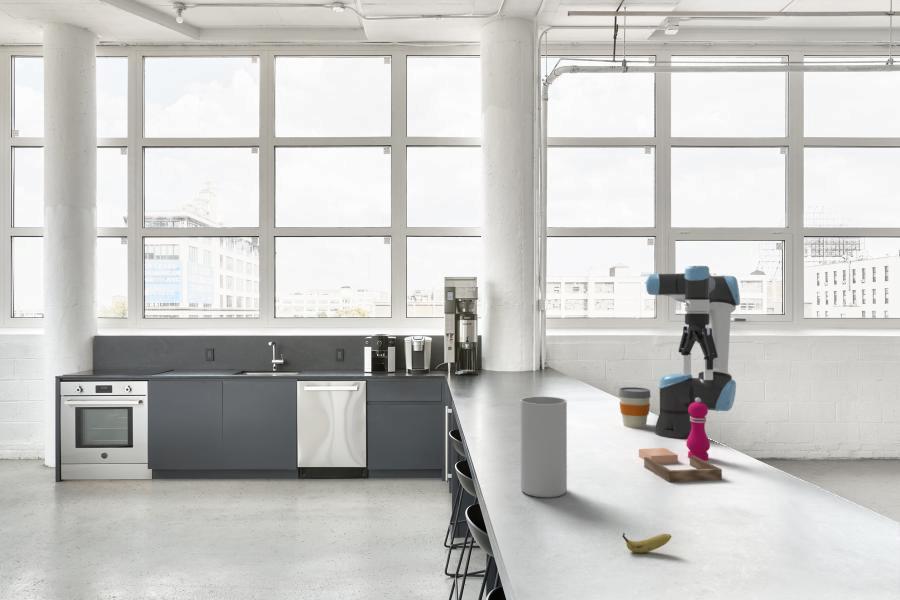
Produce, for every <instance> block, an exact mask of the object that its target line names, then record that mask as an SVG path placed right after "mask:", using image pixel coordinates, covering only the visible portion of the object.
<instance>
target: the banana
mask: <svg viewBox="0 0 900 600" xmlns="http://www.w3.org/2000/svg"><path fill="white" fill-rule="evenodd" d="M625 535H626V533H624V532H623V533H622V536H621V537H622V538H623V540H624V541H625V542H626V543H625V545H626V547H627V549H628V550H629V551H630V552H633V553H636V554H637V553H639V554H642V553H643V554H644V553H648V552H652V551H654V550H657V549H659V548H661V547H663V546H665V545H666V544H668V543H669V542H670V540H671V538H672V536H671V533H670V534H669V533H662V534H658V535H656V536H653V537H650V538H647V539H643V540H639V541H638V540H637V541H635V540H629V539H628V538H627V537H626V536H625Z"/></svg>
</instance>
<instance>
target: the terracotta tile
mask: <svg viewBox="0 0 900 600" xmlns="http://www.w3.org/2000/svg"><path fill="white" fill-rule="evenodd" d="M638 457H639V458H641V459H642V460H643V461H644V457H648V458H650V459H652V460H653V461H655V462H657V463H659V464H660V465H664V464H678V463H679V462H678V461H679V454H676V453H675V452H672V451H671V450H670V449H667V448H665V447H659V448H657V447H656V448H638Z"/></svg>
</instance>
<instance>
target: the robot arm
mask: <svg viewBox="0 0 900 600" xmlns="http://www.w3.org/2000/svg"><path fill="white" fill-rule="evenodd" d="M645 283H646V285H645V286H646V292H647V294H648V295H650V296H666V297H670V298H672V299H673V300H675V301H677V302H680V303H684V312H686V313H685V314H684V324H685V325H687V326H683V327H682V334H681V339H680V342H679V347H678V353H680V354H681V356H682V358H681V359H682V364H681V367H682V372H681V373H672V374H666V375H663V376H661V377H660V379H659V388H658V389H659V415H658V418H657V421H656V423H655V426H654V433H655V435H658V436H662V437H666V438H672V439H674V438H675V439H688V437H689V435H690V432H691V429H692V423H691V421H690V417H691V415H690V414H689V412H688V408H689V406H690V404H692V403H694V402H696V401H695V399H696V398H700V399H701V403H703V404H705V405H706V406H707V408H708V411H715V412H728V411H730V410H731V409H732V407H733V405H734V402H735V399H736V398H735V397H736V391H737V390H736V388H737V383H736V381H735V380H734V379H733V376H732V374H731V373H729V371H728V370H729V355H730V354H729V353H730V351H729V350H730V335H731V334H730V333H731V318H732V317H731V316H732V315H731V314H732V313H734V312H735V311H736V306H737V307H738V306H739V305H741V295H740V290H739V284H738V279H737V278H736V277H735V276H733V275H724V274H723V275H711V274H710V267H709V266H707V265H688V266H686V267H685V268H684V272H683V273H651V274H649V275H647V277H646V282H645ZM696 342H697V343H698V344H699V346H700V349H701V351H702V354H703V369H702V370H700V371H699V372H698V377H693V375H692V353H691V351H692V349H693V347H694V345H695V343H696Z"/></svg>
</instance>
